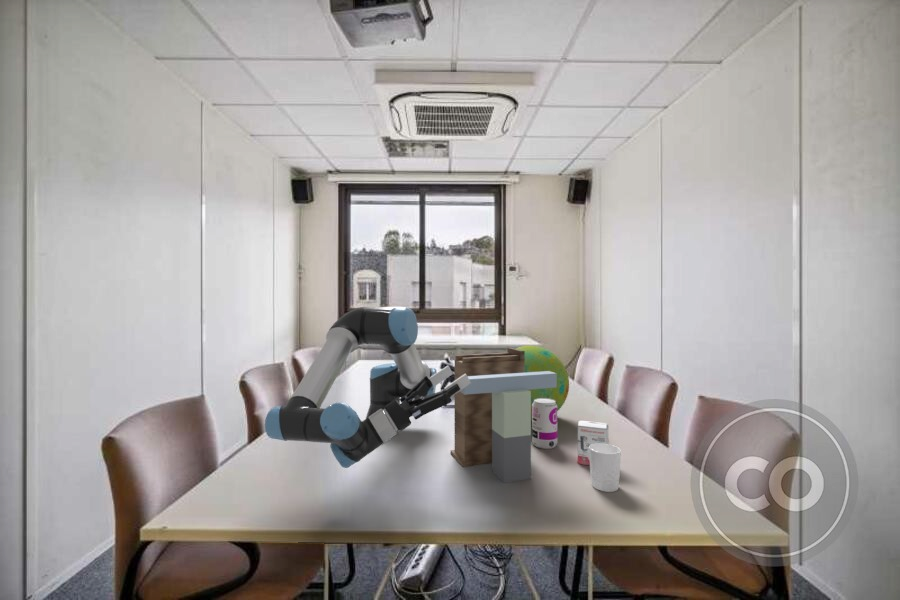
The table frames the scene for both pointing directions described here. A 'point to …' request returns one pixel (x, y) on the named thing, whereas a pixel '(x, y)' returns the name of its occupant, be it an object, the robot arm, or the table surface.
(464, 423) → the stand
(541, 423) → the supplement can
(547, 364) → the globe
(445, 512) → the table surface
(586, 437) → the ink box
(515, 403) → the upper block
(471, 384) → the pale blue bar
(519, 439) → the lower block
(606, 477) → the white cup
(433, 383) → the robot arm
